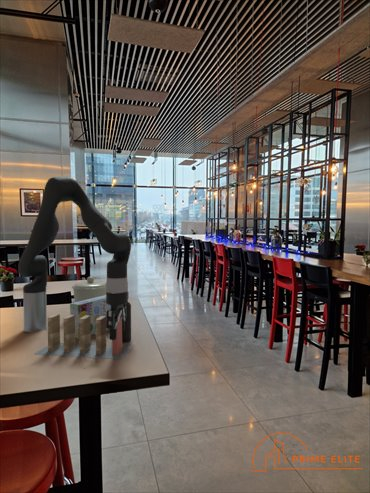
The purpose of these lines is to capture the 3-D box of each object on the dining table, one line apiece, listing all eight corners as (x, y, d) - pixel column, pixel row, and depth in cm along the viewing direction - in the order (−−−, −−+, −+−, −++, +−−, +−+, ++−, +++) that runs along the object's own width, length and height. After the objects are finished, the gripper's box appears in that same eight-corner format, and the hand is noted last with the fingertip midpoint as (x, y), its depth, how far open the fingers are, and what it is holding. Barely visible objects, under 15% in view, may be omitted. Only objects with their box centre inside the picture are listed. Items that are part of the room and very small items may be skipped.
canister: (113, 313, 169) (113, 274, 168) (101, 323, 151) (100, 279, 150) (81, 312, 170) (81, 274, 170) (65, 321, 152) (64, 278, 152)
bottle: (123, 346, 119) (122, 294, 118) (110, 343, 123) (109, 292, 122) (134, 341, 125) (134, 291, 124) (121, 338, 128) (121, 290, 128)
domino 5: (112, 354, 109) (112, 320, 108) (117, 349, 114) (117, 316, 113) (117, 354, 108) (117, 320, 108) (122, 349, 113) (121, 316, 113)
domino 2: (63, 351, 111) (63, 318, 111) (70, 346, 116) (70, 314, 116) (68, 352, 111) (68, 318, 110) (75, 347, 116) (74, 314, 115)
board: (34, 356, 109) (34, 354, 109) (53, 344, 121) (53, 342, 121) (122, 362, 105) (122, 359, 105) (133, 349, 116) (133, 346, 116)
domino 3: (79, 352, 110) (79, 319, 110) (86, 347, 115) (85, 315, 115) (84, 352, 110) (84, 319, 110) (90, 347, 115) (90, 315, 115)
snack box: (107, 326, 146) (107, 294, 145) (116, 328, 143) (116, 295, 142) (70, 339, 127) (69, 302, 127) (79, 341, 125) (79, 304, 124)
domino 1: (48, 350, 112) (47, 317, 111) (55, 345, 117) (55, 314, 116) (52, 351, 112) (52, 317, 111) (60, 346, 117) (59, 314, 116)
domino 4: (95, 353, 109) (95, 319, 109) (101, 348, 114) (101, 316, 114) (100, 353, 109) (100, 319, 109) (106, 348, 114) (106, 316, 114)
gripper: (114, 286, 118) (114, 328, 118) (98, 293, 104) (98, 341, 104) (133, 286, 117) (133, 329, 117) (120, 294, 103) (120, 342, 103)
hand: (117, 335), depth 111 cm, fingers open, 8 cm apart
